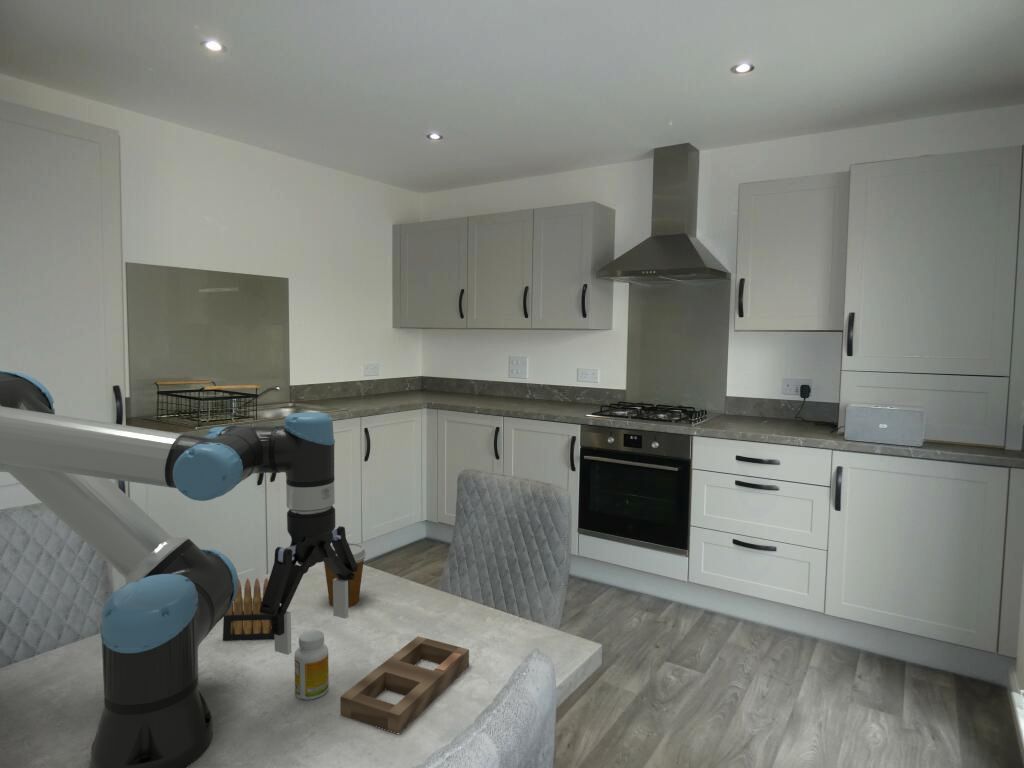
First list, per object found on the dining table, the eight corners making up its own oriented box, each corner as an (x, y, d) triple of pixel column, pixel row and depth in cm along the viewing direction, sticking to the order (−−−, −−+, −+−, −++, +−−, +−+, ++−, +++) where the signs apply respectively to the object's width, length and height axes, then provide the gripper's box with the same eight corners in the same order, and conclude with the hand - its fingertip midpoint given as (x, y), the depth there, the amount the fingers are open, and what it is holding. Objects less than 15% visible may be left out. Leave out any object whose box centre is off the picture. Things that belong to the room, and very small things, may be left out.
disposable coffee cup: (375, 599, 141) (375, 547, 140) (342, 615, 133) (342, 560, 132) (345, 589, 146) (345, 539, 145) (312, 604, 138) (312, 550, 137)
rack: (398, 734, 94) (398, 714, 94) (340, 714, 99) (340, 695, 99) (468, 665, 114) (469, 648, 114) (417, 651, 119) (417, 635, 118)
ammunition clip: (282, 634, 124) (281, 575, 123) (280, 639, 122) (279, 579, 121) (225, 636, 123) (224, 577, 122) (222, 641, 121) (221, 580, 120)
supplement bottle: (334, 685, 107) (334, 630, 106) (316, 703, 102) (316, 645, 101) (307, 680, 108) (306, 625, 108) (287, 697, 103) (287, 640, 102)
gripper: (269, 532, 90) (273, 675, 91) (376, 492, 112) (378, 607, 114) (231, 525, 93) (236, 663, 94) (343, 488, 115) (345, 599, 117)
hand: (313, 633), depth 104 cm, fingers open, 13 cm apart
